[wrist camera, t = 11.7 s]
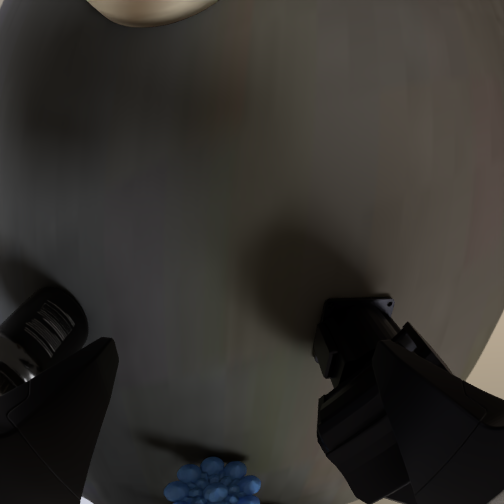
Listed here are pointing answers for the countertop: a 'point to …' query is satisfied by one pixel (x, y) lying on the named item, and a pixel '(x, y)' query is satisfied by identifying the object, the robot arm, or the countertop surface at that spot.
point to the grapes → (213, 484)
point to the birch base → (149, 11)
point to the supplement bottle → (39, 336)
